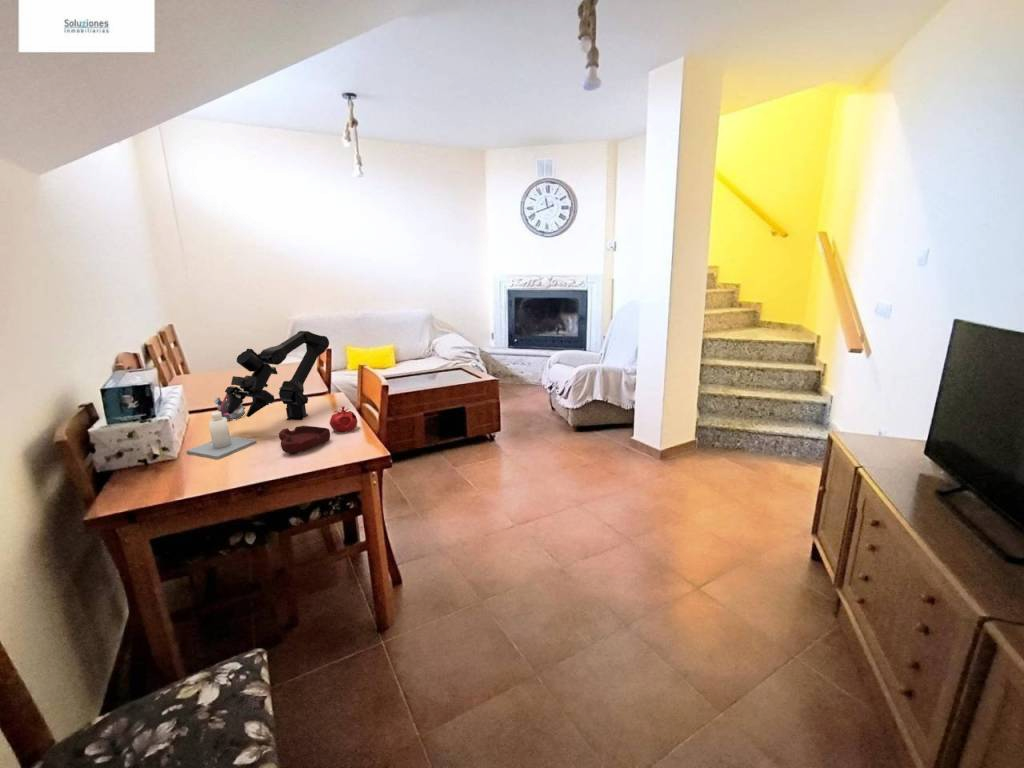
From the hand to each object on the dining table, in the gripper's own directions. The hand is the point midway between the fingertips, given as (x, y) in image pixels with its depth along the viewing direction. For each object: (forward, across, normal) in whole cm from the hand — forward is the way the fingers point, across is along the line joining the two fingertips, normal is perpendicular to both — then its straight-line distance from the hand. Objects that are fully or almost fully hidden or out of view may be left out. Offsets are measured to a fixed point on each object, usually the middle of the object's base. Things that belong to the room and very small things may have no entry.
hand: (238, 415), depth 169 cm
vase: (+12, 0, 0) cm, 12 cm away
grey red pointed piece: (-5, -28, +19) cm, 34 cm away
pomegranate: (-8, +29, +22) cm, 37 cm away
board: (+12, 0, +1) cm, 13 cm away
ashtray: (+4, +26, +10) cm, 28 cm away
